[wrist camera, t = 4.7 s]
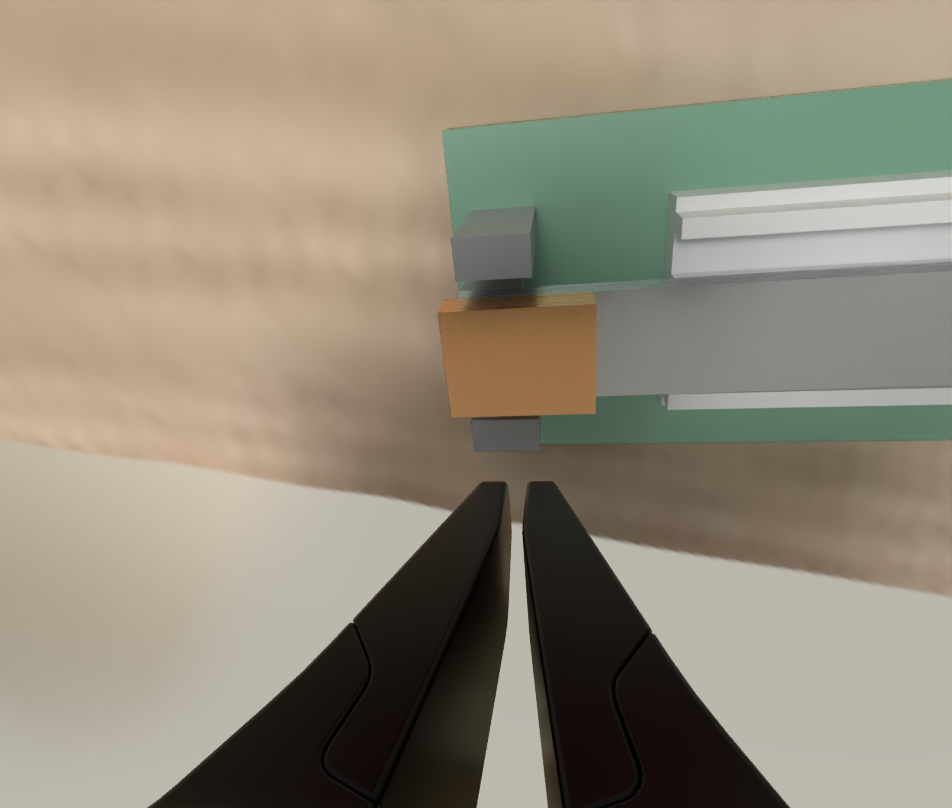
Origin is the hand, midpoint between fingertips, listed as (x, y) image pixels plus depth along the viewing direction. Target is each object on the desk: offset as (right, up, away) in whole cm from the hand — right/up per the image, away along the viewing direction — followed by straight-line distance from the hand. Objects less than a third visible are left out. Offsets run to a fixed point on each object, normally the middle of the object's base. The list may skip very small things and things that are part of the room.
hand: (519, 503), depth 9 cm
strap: (+8, +4, +5) cm, 10 cm away
